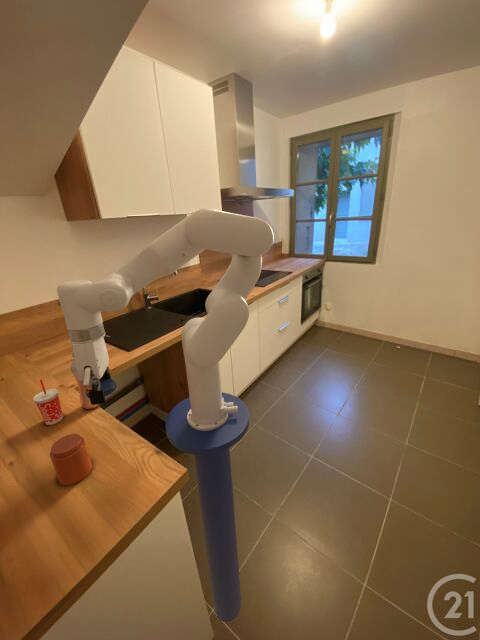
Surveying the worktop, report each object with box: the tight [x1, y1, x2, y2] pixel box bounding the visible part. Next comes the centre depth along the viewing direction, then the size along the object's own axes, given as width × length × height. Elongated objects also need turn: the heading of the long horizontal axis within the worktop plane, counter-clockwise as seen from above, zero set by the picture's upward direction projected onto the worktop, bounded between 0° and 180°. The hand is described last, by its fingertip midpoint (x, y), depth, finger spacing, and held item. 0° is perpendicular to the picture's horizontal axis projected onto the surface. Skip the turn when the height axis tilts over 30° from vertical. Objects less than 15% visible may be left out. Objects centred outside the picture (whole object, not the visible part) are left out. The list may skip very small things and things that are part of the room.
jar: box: [49, 433, 93, 486], centre depth 60 cm, size 7×7×9 cm
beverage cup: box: [32, 379, 64, 426], centre depth 78 cm, size 6×6×14 cm
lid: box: [85, 378, 117, 398], centre depth 68 cm, size 7×7×1 cm
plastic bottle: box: [70, 350, 101, 410], centre depth 83 cm, size 6×7×20 cm
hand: (102, 394), depth 69 cm, fingers closed on lid, 7 cm apart
